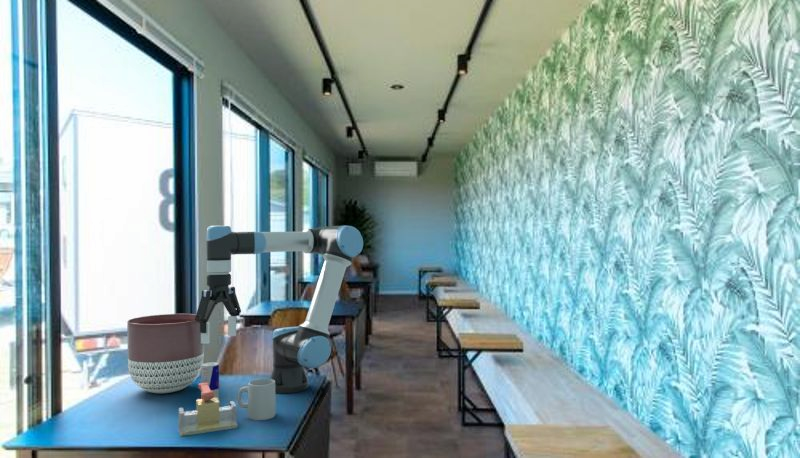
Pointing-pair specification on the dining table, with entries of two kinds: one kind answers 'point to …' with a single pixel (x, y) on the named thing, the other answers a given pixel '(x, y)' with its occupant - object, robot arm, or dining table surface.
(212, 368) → the beverage can
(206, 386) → the lever
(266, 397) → the mug
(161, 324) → the planter
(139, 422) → the dining table surface
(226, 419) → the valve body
